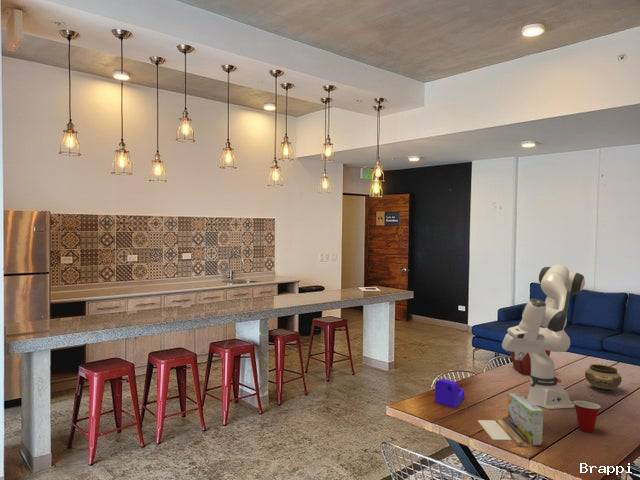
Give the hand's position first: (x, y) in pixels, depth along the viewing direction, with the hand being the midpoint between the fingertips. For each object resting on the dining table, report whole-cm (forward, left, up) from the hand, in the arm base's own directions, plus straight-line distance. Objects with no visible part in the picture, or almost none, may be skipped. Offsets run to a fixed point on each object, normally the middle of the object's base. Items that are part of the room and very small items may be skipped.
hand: (517, 359), depth 224 cm
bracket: (+23, -25, -29) cm, 45 cm away
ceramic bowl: (-68, -47, -29) cm, 88 cm away
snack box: (+3, +15, -29) cm, 33 cm away
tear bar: (+8, +15, -29) cm, 34 cm away
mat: (+14, +11, -29) cm, 34 cm away
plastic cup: (-28, +8, -29) cm, 41 cm away
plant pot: (-39, -78, -29) cm, 92 cm away
